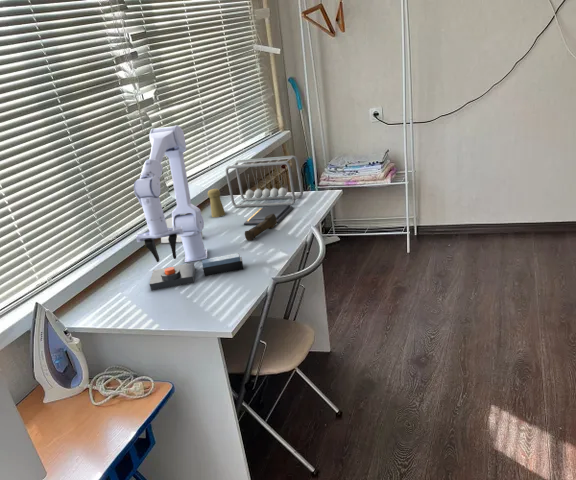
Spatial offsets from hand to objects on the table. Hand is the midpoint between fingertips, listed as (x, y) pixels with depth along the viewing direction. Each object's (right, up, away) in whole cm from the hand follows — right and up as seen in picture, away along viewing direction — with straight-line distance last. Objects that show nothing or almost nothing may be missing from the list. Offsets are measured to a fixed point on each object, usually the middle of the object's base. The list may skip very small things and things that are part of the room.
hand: (166, 259), depth 194 cm
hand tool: (+29, +18, +36) cm, 50 cm away
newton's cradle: (+30, +39, +70) cm, 86 cm away
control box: (+1, -5, +7) cm, 9 cm away
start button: (+1, -4, +2) cm, 5 cm away
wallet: (+31, +28, +52) cm, 67 cm away
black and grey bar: (+18, -2, +7) cm, 19 cm away
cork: (+9, +32, +66) cm, 74 cm away
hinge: (-2, +17, +45) cm, 48 cm away
